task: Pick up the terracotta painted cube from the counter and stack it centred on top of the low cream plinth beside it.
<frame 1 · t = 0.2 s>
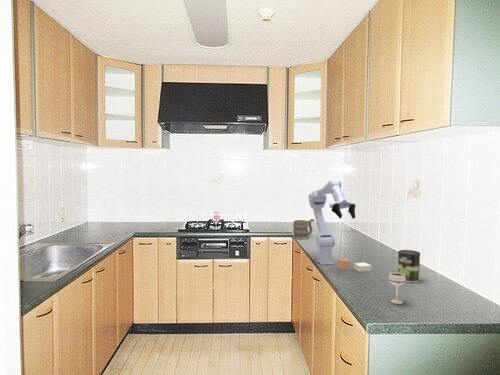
hand: (347, 217, 195), 31 cm above the worktop, tool tilted 45°, fingers open, 7 cm apart
terracotta cube: (344, 268, 211), on the worktop
tankard: (304, 238, 305), on the worktop
coffee can: (408, 280, 190), on the worktop
wineglass: (396, 302, 158), on the worktop
cream plinth: (362, 269, 208), on the worktop
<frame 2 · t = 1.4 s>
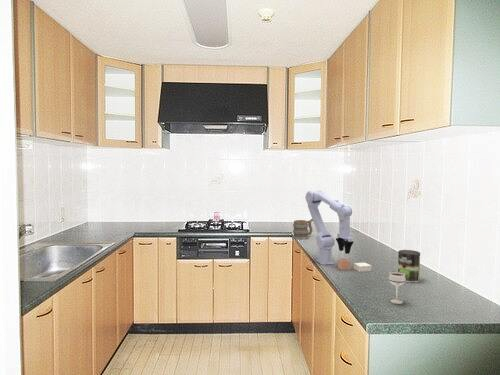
hand: (344, 252, 211), 9 cm above the worktop, tool pointing down, fingers open, 7 cm apart
nothing on the worktop moved.
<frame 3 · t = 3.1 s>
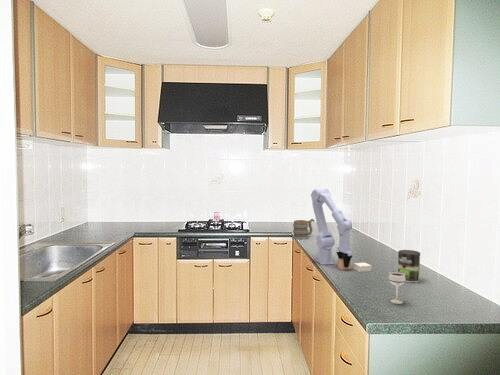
hand: (344, 265, 211), 1 cm above the worktop, tool pointing down, fingers closed on terracotta cube, 5 cm apart
terracotta cube: (344, 268, 211), on the worktop, touching gripper
everything else where it was.
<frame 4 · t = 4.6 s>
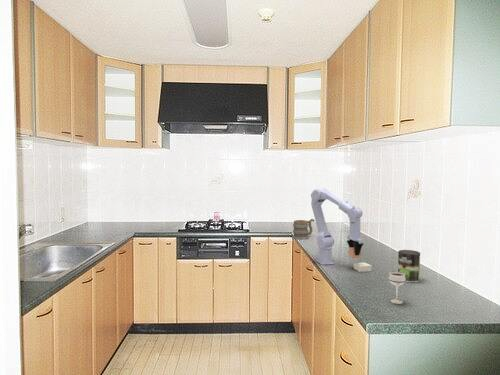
hand: (354, 254, 209), 9 cm above the worktop, tool pointing down, fingers closed on terracotta cube, 5 cm apart
terracotta cube: (354, 256, 209), point 7 cm above the worktop, touching gripper
everything else where it was.
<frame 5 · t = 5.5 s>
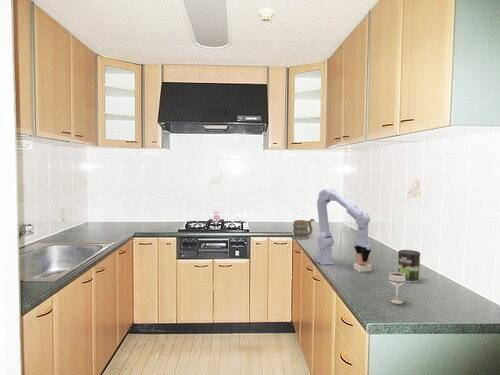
hand: (362, 260, 208), 5 cm above the worktop, tool pointing down, fingers closed on terracotta cube, 5 cm apart
terracotta cube: (362, 263, 208), point 4 cm above the worktop, touching gripper
everything else where it was.
when the fingers open (5 cm above the worktop, at t = 6.3 s): terracotta cube stays where it is, resting on cream plinth.
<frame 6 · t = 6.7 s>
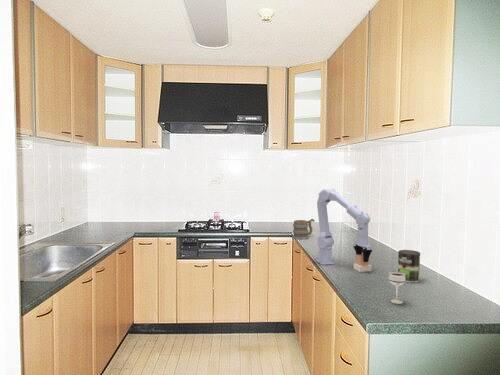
hand: (362, 260, 208), 5 cm above the worktop, tool pointing down, fingers open, 7 cm apart
terracotta cube: (362, 264, 208), point 3 cm above the worktop, touching cream plinth
everything else where it was.
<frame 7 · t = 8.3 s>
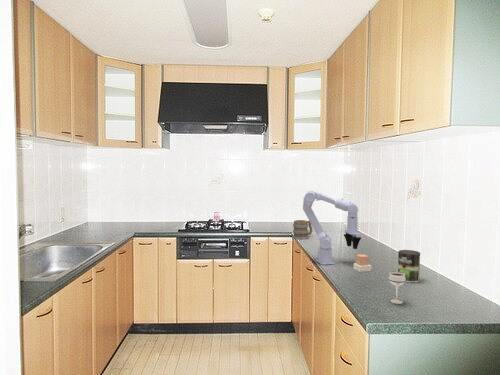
hand: (352, 247, 220), 10 cm above the worktop, tool pointing down, fingers open, 7 cm apart
nothing on the worktop moved.
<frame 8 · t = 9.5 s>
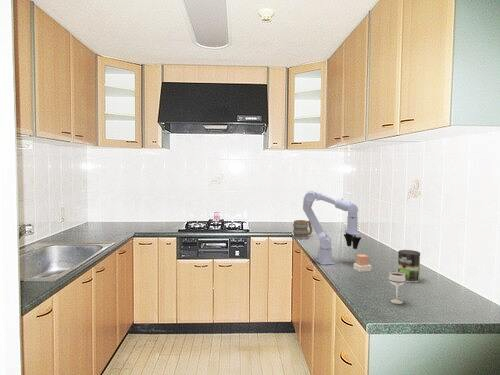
hand: (352, 247, 220), 10 cm above the worktop, tool pointing down, fingers open, 7 cm apart
nothing on the worktop moved.
at the end: terracotta cube 0.1 cm off-centre on the cream plinth, point 3.0 cm above the cream plinth's base; terracotta cube tilted 0°; the gripper is holding nothing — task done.
